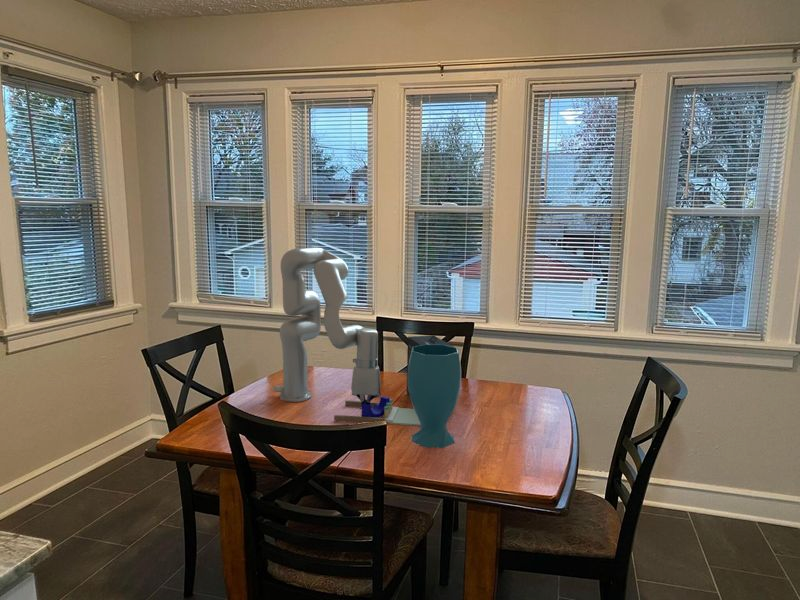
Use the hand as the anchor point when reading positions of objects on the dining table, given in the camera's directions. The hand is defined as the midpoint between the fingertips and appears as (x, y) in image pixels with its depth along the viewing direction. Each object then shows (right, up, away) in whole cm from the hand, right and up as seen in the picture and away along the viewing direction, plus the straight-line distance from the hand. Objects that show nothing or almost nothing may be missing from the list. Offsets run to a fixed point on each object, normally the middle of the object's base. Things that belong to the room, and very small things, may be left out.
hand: (365, 411), depth 202 cm
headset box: (+24, +1, +17) cm, 29 cm away
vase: (+23, -5, -21) cm, 32 cm away
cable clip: (+3, -2, -1) cm, 4 cm away
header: (+7, -1, -1) cm, 7 cm away
